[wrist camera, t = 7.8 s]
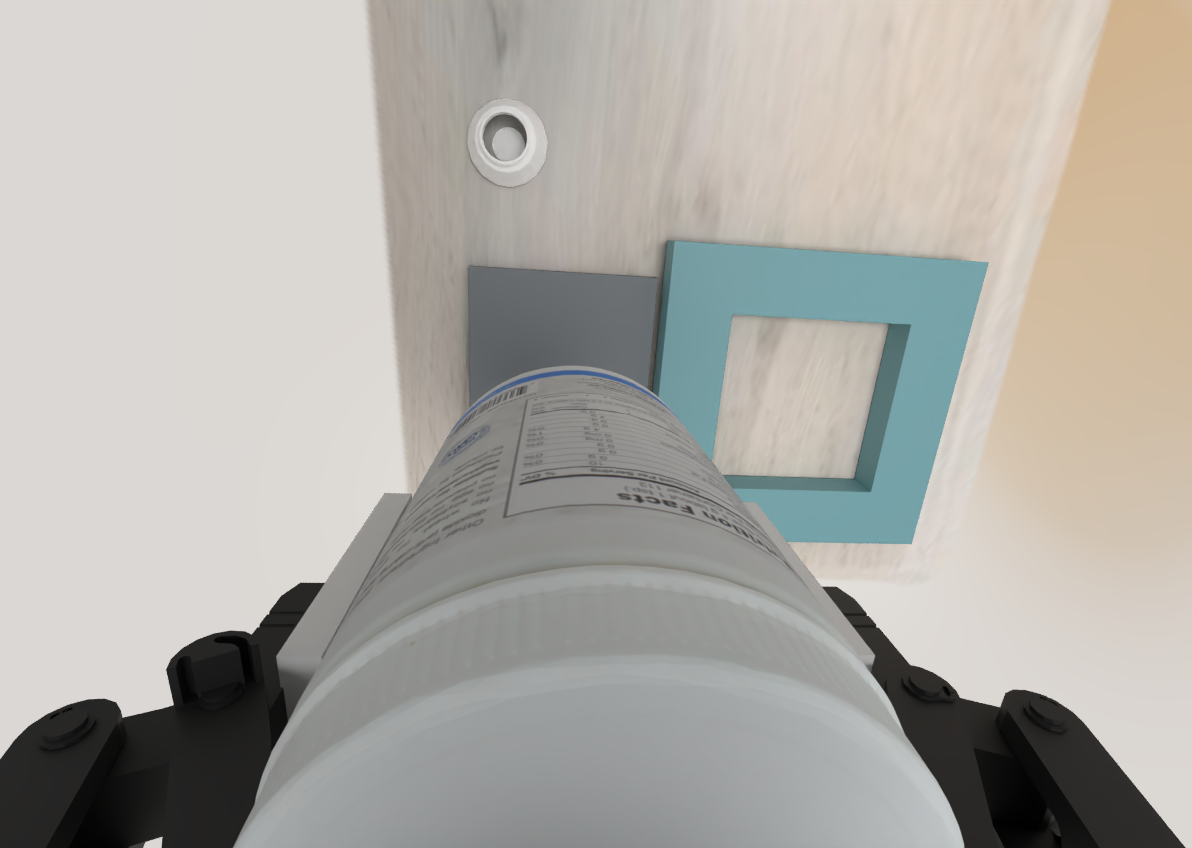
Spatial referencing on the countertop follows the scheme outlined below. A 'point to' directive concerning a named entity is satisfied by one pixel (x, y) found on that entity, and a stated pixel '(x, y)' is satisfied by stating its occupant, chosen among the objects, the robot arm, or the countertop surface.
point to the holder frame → (828, 292)
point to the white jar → (508, 144)
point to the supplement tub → (589, 661)
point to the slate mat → (557, 323)
